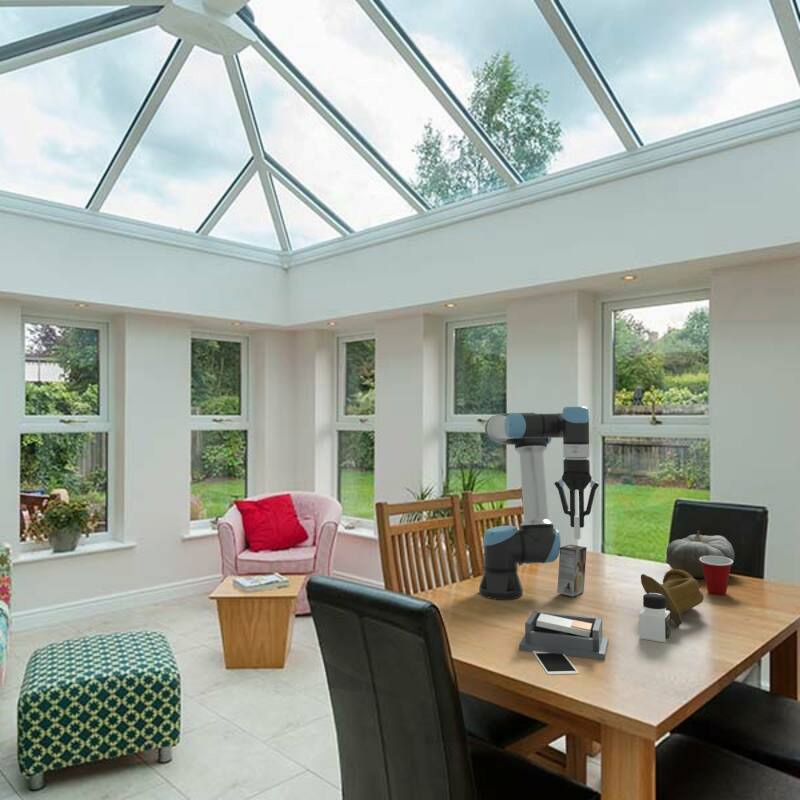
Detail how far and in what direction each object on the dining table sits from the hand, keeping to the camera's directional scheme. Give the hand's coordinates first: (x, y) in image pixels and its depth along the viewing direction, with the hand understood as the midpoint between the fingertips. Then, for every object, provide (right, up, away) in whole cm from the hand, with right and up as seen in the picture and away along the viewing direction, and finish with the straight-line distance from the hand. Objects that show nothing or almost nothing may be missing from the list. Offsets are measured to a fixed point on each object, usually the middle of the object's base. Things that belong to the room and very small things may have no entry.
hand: (577, 538), depth 197 cm
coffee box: (+7, -27, +37) cm, 47 cm away
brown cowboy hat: (+32, -27, +10) cm, 43 cm away
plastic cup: (+59, -27, +37) cm, 74 cm away
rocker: (-8, -21, -16) cm, 27 cm away
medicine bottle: (+19, -26, -9) cm, 34 cm away
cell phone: (-13, -26, -27) cm, 40 cm away
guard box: (-8, -26, -16) cm, 31 cm away
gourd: (+65, -28, +64) cm, 96 cm away
